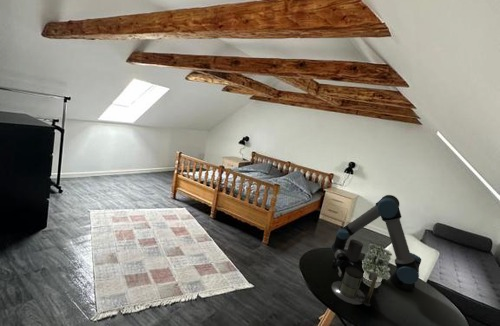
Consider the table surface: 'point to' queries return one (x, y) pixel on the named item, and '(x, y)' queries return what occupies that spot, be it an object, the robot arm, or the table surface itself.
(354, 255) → the pillar candle
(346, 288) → the coffee can
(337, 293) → the turntable
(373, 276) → the gauge stand
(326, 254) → the table surface
